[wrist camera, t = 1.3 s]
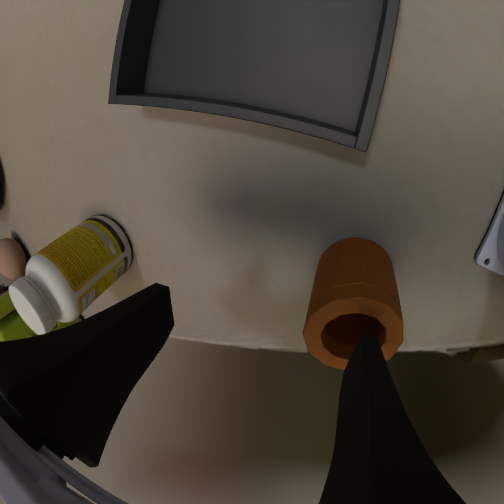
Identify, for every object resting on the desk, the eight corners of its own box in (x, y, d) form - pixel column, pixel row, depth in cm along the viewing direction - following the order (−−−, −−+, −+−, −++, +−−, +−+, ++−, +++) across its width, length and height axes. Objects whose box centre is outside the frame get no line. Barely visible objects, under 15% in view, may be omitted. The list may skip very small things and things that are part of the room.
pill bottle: (81, 211, 25) (-6, 269, 15) (126, 215, 23) (27, 286, 14) (96, 266, 28) (23, 330, 18) (140, 276, 26) (63, 355, 17)
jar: (403, 252, 18) (421, 315, 12) (373, 310, 20) (374, 378, 15) (331, 227, 18) (323, 284, 13) (308, 289, 21) (292, 355, 16)
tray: (395, -16, 9) (405, -39, 6) (361, 143, 15) (366, 152, 12) (167, -34, 12) (138, -49, 9) (140, 99, 18) (107, 103, 15)
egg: (12, 226, 30) (34, 266, 31) (13, 236, 33) (34, 272, 35) (-15, 246, 26) (8, 287, 28) (-10, 254, 30) (11, 291, 32)
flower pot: (26, 276, 38) (61, 340, 41) (-33, 315, 25) (10, 385, 29) (57, 259, 32) (101, 341, 35) (-23, 311, 20) (37, 403, 23)
